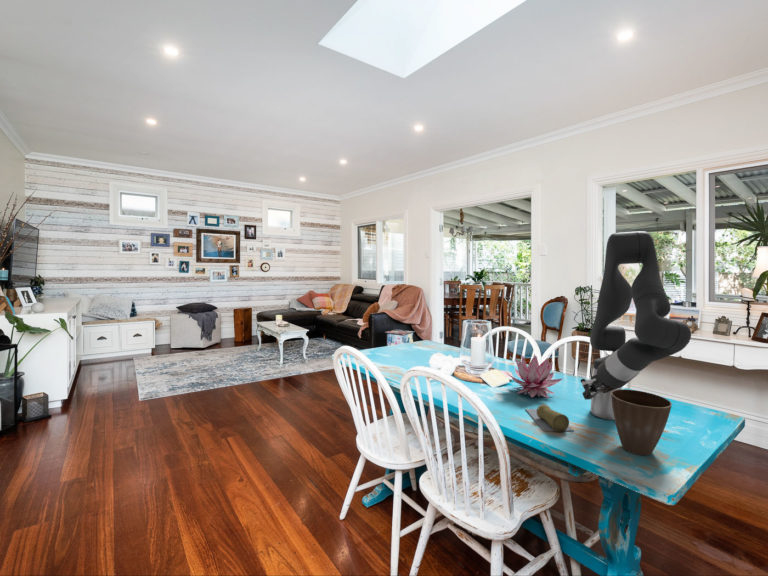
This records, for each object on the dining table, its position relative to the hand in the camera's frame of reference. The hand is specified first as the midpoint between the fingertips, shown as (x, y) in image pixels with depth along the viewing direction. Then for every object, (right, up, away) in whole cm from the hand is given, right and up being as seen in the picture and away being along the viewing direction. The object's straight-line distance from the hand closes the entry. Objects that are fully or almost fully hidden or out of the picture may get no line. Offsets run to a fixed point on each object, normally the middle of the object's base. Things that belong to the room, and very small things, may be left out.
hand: (585, 396), depth 112 cm
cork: (-2, -12, +11) cm, 17 cm away
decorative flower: (+3, -13, +48) cm, 49 cm away
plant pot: (+16, -16, +1) cm, 23 cm away
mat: (-2, -14, +21) cm, 26 cm away
